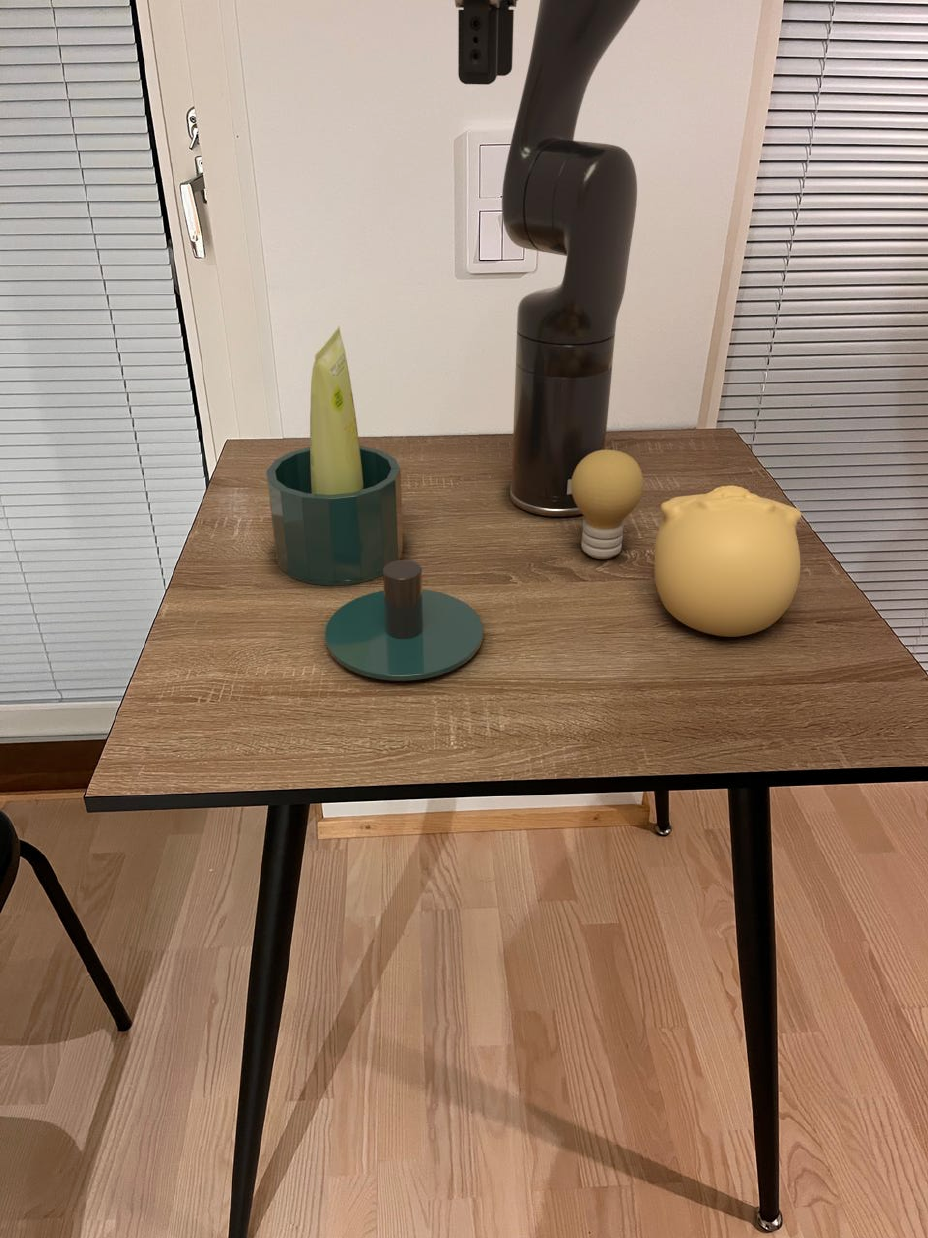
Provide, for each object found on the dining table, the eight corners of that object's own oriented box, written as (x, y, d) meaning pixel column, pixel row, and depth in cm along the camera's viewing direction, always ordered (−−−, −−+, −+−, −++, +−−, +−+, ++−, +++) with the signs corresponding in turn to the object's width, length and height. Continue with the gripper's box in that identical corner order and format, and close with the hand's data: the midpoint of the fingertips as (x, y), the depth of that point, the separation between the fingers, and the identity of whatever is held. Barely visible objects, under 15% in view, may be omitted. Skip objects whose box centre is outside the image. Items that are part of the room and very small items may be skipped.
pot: (297, 521, 94) (289, 440, 90) (413, 529, 93) (410, 447, 88) (259, 580, 85) (248, 493, 80) (387, 590, 83) (383, 502, 79)
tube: (381, 554, 88) (371, 342, 77) (332, 569, 85) (314, 352, 75) (352, 529, 92) (339, 325, 81) (304, 543, 89) (284, 334, 79)
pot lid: (348, 593, 83) (343, 525, 79) (492, 605, 81) (493, 537, 78) (306, 678, 72) (298, 605, 69) (470, 695, 71) (471, 620, 67)
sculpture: (774, 580, 85) (798, 468, 79) (800, 658, 75) (829, 536, 69) (644, 573, 86) (658, 462, 80) (652, 648, 76) (669, 527, 70)
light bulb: (641, 542, 91) (652, 444, 85) (628, 574, 86) (639, 472, 80) (575, 532, 93) (582, 434, 87) (559, 563, 88) (565, 461, 82)
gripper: (552, -305, 45) (536, 89, 54) (569, -242, 57) (554, 73, 66) (396, -300, 46) (405, 86, 55) (444, -238, 58) (446, 71, 66)
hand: (486, 79), depth 60 cm, fingers open, 8 cm apart
